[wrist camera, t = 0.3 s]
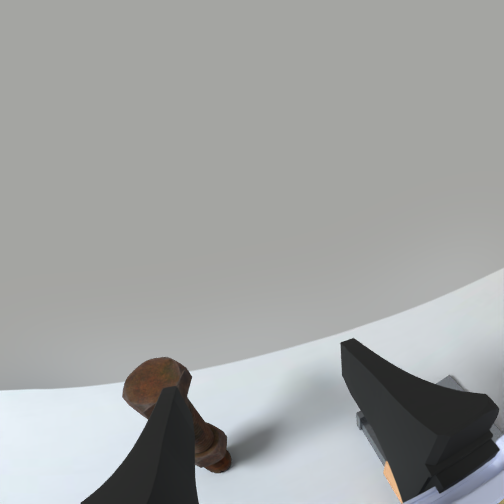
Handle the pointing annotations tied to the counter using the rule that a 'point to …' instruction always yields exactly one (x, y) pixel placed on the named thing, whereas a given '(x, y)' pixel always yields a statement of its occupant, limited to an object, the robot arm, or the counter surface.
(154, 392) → the bolt
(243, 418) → the counter surface
